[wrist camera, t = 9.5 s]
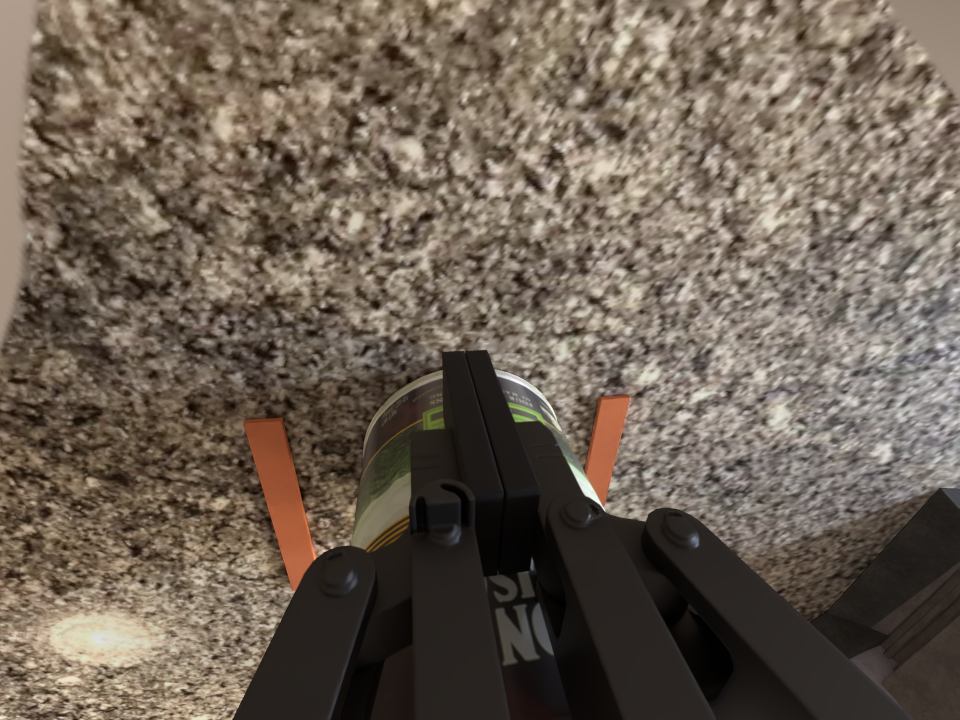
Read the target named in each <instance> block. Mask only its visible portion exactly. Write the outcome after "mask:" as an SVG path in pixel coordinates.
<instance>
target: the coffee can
mask: <svg viewBox="0 0 960 720" xmlns="http://www.w3.org/2000/svg"><path fill="white" fill-rule="evenodd" d="M494 370H495V372H496V375H497V377H498V380H499V382H500V385H501V387H502V390H503V392H504V395H505V397H506V400H507V402H508V405H509V408H510V410H511V413H512V415H513V418H514V420H515V422H524V421H538V420H540V421H541V422H542V423H543V424H544V425H545V426H547V427H548V428H549V429H550V430H551V431H552V432H553V434H554V436H555V438H556V440H557V442H558V445H559V446H560V448H561V450H562V452H563V456H565V458H566V460H567V462H568V464H569V466H570V468H571V470H572V472H573V474H574V476H575V478H576V480H577V482H578V484H579V486H580V487H581V489H582V491H583V493H584V495H585V496H587V497H590V498H591V499H592V500H594V501H595V502H597V503H598V504H599V505H600V506H601V507H602V508H603V506H602V504H601V502H600V500H599V498H598V496H597V495H596V493H595V491H594V489H593V487H592V485H591V483H590V482H589V480H588V478H587V476H586V474H585V472H584V470H583V468H582V466H581V465H580V463H579V461H578V459H577V457H576V456H575V454H574V451H573V449H572V447H571V446H570V444H569V442H568V440H567V439H566V437H565V435H564V433H563V431H562V429H561V427H560V425H559V424H558V422H557V419H556V416H555V413H554V411H553V409H552V407H551V405H550V404H549V402H548V401H547V399H546V398H545V397H544V395H543V394H542V393H541V392H540V391H539V390H538V389H537V388H535V387H534V386H533V385H531V384H530V383H528V382H527V381H525V380H524V379H522V378H520V377H518V376H515V375H513V374H511V373H508V372H505V371H501V370H498V369H494ZM432 429H445V426H444V419H443V370H441V371H437V372H434V373H431V374H428V375H425V376H423V377H420V378H418V379H416V380H414V381H412V382H411V383H409V384H407V385H405V386H404V387H402V388H401V389H399V390H398V391H397V392H395V393H394V394H393V395H392V396H391V397H389V398H388V400H387V401H386V402H385V403H384V404H383V405H382V406H381V407H380V408H379V410H378V411H377V413H376V414H375V416H374V417H373V419H372V421H371V423H370V425H369V427H368V430H367V432H366V436H365V440H364V446H363V464H362V471H361V477H360V484H359V491H358V499H357V505H356V513H355V521H354V528H353V535H352V542H351V546H355V547H359V548H362V549H364V550H365V551H367V552H368V553H370V552H372V551H375V550H377V549H379V548H382V547H384V546H386V545H388V544H390V543H392V542H394V541H395V540H396V539H397V538H398V537H400V536H401V535H402V534H403V532H404V531H405V530H406V528H407V527H408V524H409V522H410V519H409V502H410V498H411V464H410V442H411V441H412V439H413V437H414V435H415V434H416V432H417V431H419V430H432ZM603 510H604V511H605V509H604V508H603ZM605 512H606V511H605ZM536 580H537V572H536V569H535V565H534V562H533V559H531V567H530V571H526V572H519V573H511V574H504V575H499V572H497V575H496V576H489V577H484V581H485V587H486V592H487V597H488V602H489V608H490V613H491V618H492V624H493V629H494V634H495V640H496V645H497V650H498V656H499V661H500V666H501V672H502V677H503V682H504V688H505V693H506V698H507V704H508V709H509V714H510V720H572V717H571V713H570V710H569V706H568V703H567V699H566V696H565V692H564V688H563V685H562V681H561V678H560V674H559V671H558V667H557V664H556V660H555V657H554V653H553V650H552V646H551V643H550V639H549V636H548V632H547V629H546V625H545V622H544V618H543V615H542V611H541V608H540V604H539V602H536V603H535V586H536ZM370 720H415V717H414V670H413V644H412V645H410V646H408V647H406V648H404V649H403V650H401V651H399V652H397V653H395V654H393V655H392V656H390V657H388V658H386V659H385V662H384V666H383V670H382V674H381V678H380V682H379V686H378V690H377V694H376V698H375V702H374V706H373V710H372V714H371V718H370Z"/></svg>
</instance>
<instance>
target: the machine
mask: <svg viewBox="0 0 960 720" xmlns="http://www.w3.org/2000/svg"><path fill="white" fill-rule="evenodd" d="M810 623H811V624H812V625H813V626H814V627H815V628H816V629H817V630H818V631H819V632H820V633H821V634H823V635H824V636H825V637H826V638H827V639H828V640H829V641H830V642H831V643H832V644H833V645H834V646H835V647H837V648H838V649H839V650H840V651H841V652H842V653H843V654H844V655H845V656H846V657H847V658H848V659H850V660H851V661H852V662H853V663H854V664H855V665H856V666H857V667H858V668H859V669H860V670H861V671H862V672H864V673H865V674H866V675H867V676H868V677H869V678H870V679H871V680H872V681H873V682H874V683H875V684H877V685H878V686H879V687H880V688H881V689H882V690H883V691H884V692H885V693H886V694H887V695H888V696H889V697H891V698H892V699H893V700H894V701H895V702H896V703H897V704H898V705H899V706H900V707H901V708H902V709H904V710H905V711H906V712H907V713H908V714H909V715H910V716H911V717H912V718H913V719H914V720H960V489H946V488H940V489H939V491H938V492H937V493H936V494H935V495H934V496H933V497H932V498H931V499H930V500H929V501H928V503H927V504H926V505H925V506H924V507H923V508H922V509H921V510H920V511H919V512H918V513H917V515H916V516H915V517H914V518H913V519H912V520H911V521H910V522H909V523H908V524H907V525H906V527H905V528H904V529H903V530H902V531H901V532H900V533H899V534H898V535H897V536H896V537H895V539H894V540H893V541H892V542H891V543H890V544H889V545H888V546H887V547H886V548H885V549H884V551H883V552H882V553H881V554H880V555H879V556H878V557H877V558H876V559H875V560H874V561H873V563H872V564H871V565H870V566H869V567H868V568H867V569H866V570H865V571H864V572H863V573H862V575H861V576H860V577H859V578H858V579H857V580H856V581H855V582H854V583H853V584H852V585H851V587H850V588H849V589H848V590H847V591H846V592H845V593H844V594H843V595H842V596H841V597H840V599H839V600H838V601H837V602H836V603H835V604H834V605H833V606H832V607H831V608H830V609H829V611H828V612H827V613H825V614H824V615H822V616H820V617H818V618H816V619H815V620H813V621H811V622H810Z"/></svg>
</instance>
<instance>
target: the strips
mask: <svg viewBox="0 0 960 720" xmlns="http://www.w3.org/2000/svg"><path fill="white" fill-rule="evenodd" d="M629 401H630V397H629V396H628V395H619V396H604V397H599V401H598V406H597V411H596V416H595V421H594V426H593V431H592V436H591V441H590V446H589V451H588V456H587V461H586V466H585V471H584V472H585V474H586V476H587V478H588V480H589V482H590V483H591V485H592V487H593V489H594V491H595V493H596V495H597V496H598V498H599V500H600V502H601V504H602V506H603V508H604V505H605V500H606V496H607V492H608V488H609V484H610V480H611V476H612V471H613V467H614V463H615V459H616V455H617V451H618V447H619V442H620V438H621V434H622V430H623V426H624V422H625V418H626V413H627V409H628V405H629ZM244 427H245V431H246V434H247V438H248V441H249V444H250V448H251V451H252V455H253V458H254V462H255V465H256V468H257V472H258V475H259V479H260V482H261V485H262V489H263V492H264V496H265V499H266V502H267V506H268V509H269V513H270V516H271V519H272V523H273V526H274V530H275V533H276V536H277V540H278V543H279V547H280V550H281V554H282V557H283V560H284V564H285V567H286V571H287V574H288V577H289V581H290V584H291V588H292V591H295V590H296V589H297V587H298V585H299V583H300V581H301V579H302V577H303V575H304V573H305V572H306V570H307V569H308V567H309V566H310V565H311V563H312V562H313V561H314V560H315V559H316V556H315V552H314V548H313V544H312V540H311V535H310V531H309V527H308V523H307V518H306V514H305V510H304V506H303V501H302V497H301V493H300V489H299V484H298V480H297V476H296V472H295V468H294V463H293V459H292V455H291V451H290V446H289V442H288V438H287V434H286V429H285V425H284V421H283V418H268V419H253V420H245V422H244Z"/></svg>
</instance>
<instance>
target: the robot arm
mask: <svg viewBox="0 0 960 720" xmlns="http://www.w3.org/2000/svg"><path fill="white" fill-rule="evenodd" d="M442 369H443V419H444V426H445V429H432V430H419V431H417V432H416V434H415V435H414V437H413V439H412V441H411V442H410V464H411V498H410V502H409V519H410V522H409V524H408V527H407V528H406V530H405V531H404V532H403V534H402V535H401V536H400V537H398V538H397V539H396V540H395V541H394V542H392V543H390V544H388V545H386V546H384V547H382V548H379V549H377V550H375V551H372V552H370V553H368V552H367V551H365V550H364V549H362V548H359V547H355V546H340V547H336V548H334V549H331V550H329V551H326V552H324V553H323V554H322V555H320V556H319V557H318V558H316V559H315V560H314V561H313V562H312V563H311V565H310V566H309V567H308V569H307V570H306V572H305V573H304V575H303V577H302V579H301V581H300V583H299V585H298V587H297V589H296V591H295V593H294V595H293V597H292V599H291V601H290V603H289V605H288V607H287V609H286V612H285V614H284V616H283V618H282V620H281V622H280V624H279V626H278V628H277V630H276V632H275V634H274V636H273V638H272V640H271V642H270V644H269V646H268V648H267V650H266V652H265V654H264V656H263V658H262V660H261V662H260V665H259V667H258V669H257V671H256V673H255V675H254V677H253V679H252V681H251V683H250V685H249V687H248V689H247V691H246V693H245V695H244V697H243V699H242V701H241V703H240V705H239V707H238V709H237V711H236V713H235V715H234V718H233V720H370V718H371V714H372V710H373V706H374V702H375V698H376V694H377V690H378V686H379V682H380V678H381V674H382V670H383V666H384V662H385V659H386V658H388V657H390V656H392V655H393V654H395V653H397V652H399V651H401V650H403V649H404V648H406V647H408V646H410V645H412V644H413V670H414V717H415V720H510V714H509V709H508V704H507V698H506V693H505V688H504V682H503V677H502V672H501V666H500V661H499V656H498V650H497V645H496V640H495V634H494V629H493V624H492V618H491V613H490V608H489V602H488V597H487V592H486V587H485V581H484V577H489V576H496V575H497V572H499V575H504V574H511V573H519V572H526V571H530V567H531V559H533V562H534V565H535V569H536V572H537V580H536V586H535V603H536V602H539V604H540V608H541V611H542V615H543V618H544V622H545V625H546V629H547V632H548V636H549V639H550V643H551V646H552V650H553V653H554V657H555V660H556V664H557V667H558V671H559V674H560V678H561V681H562V685H563V688H564V692H565V696H566V699H567V703H568V706H569V710H570V713H571V717H572V720H914V719H913V718H912V717H911V716H910V715H909V714H908V713H907V712H906V711H905V710H904V709H902V708H901V707H900V706H899V705H898V704H897V703H896V702H895V701H894V700H893V699H892V698H891V697H889V696H888V695H887V694H886V693H885V692H884V691H883V690H882V689H881V688H880V687H879V686H878V685H877V684H875V683H874V682H873V681H872V680H871V679H870V678H869V677H868V676H867V675H866V674H865V673H864V672H862V671H861V670H860V669H859V668H858V667H857V666H856V665H855V664H854V663H853V662H852V661H851V660H850V659H848V658H847V657H846V656H845V655H844V654H843V653H842V652H841V651H840V650H839V649H838V648H837V647H835V646H834V645H833V644H832V643H831V642H830V641H829V640H828V639H827V638H826V637H825V636H824V635H823V634H821V633H820V632H819V631H818V630H817V629H816V628H815V627H814V626H813V625H812V624H811V623H810V622H808V621H807V620H806V619H805V618H804V617H803V616H802V615H801V614H800V613H799V612H798V611H797V610H796V609H794V608H793V607H792V606H791V605H790V604H789V603H788V602H787V601H786V600H785V599H784V598H783V597H781V596H780V595H779V594H778V593H777V592H776V591H775V590H774V589H773V588H772V587H771V586H770V585H768V584H767V583H766V582H765V581H764V580H763V579H762V578H761V577H760V576H759V575H758V574H757V573H756V572H754V571H753V570H752V569H751V568H750V567H749V566H748V565H747V564H746V563H745V562H744V561H743V560H741V559H740V558H739V557H738V556H737V555H736V554H735V553H734V552H733V551H732V550H731V549H730V548H729V547H727V546H726V545H725V544H724V543H723V542H722V541H721V540H720V539H719V538H718V537H717V536H716V535H714V534H713V533H712V532H711V531H710V530H709V529H708V528H707V527H706V526H705V525H704V524H703V523H701V522H700V521H699V520H697V519H696V518H694V517H693V516H692V515H690V514H688V513H685V512H683V511H681V510H678V509H672V508H660V509H656V510H654V511H653V512H651V513H650V514H649V515H648V518H647V520H646V522H644V521H638V520H632V519H626V518H620V517H616V516H612V515H610V514H607V513H606V512H605V511H604V510H603V508H602V507H601V506H600V505H599V504H598V503H597V502H595V501H594V500H592V499H591V498H590V497H587V496H585V495H584V493H583V491H582V489H581V487H580V486H579V484H578V482H577V480H576V478H575V476H574V474H573V472H572V470H571V468H570V466H569V464H568V462H567V460H566V458H565V456H563V452H562V450H561V448H560V446H559V445H558V442H557V440H556V438H555V436H554V434H553V432H552V431H551V430H550V429H549V428H548V427H547V426H545V425H544V424H543V423H542V422H541V421H540V420H538V421H524V422H515V420H514V418H513V415H512V413H511V410H510V408H509V405H508V402H507V400H506V397H505V395H504V392H503V390H502V387H501V385H500V382H499V380H498V377H497V375H496V372H495V370H494V367H493V364H492V362H491V359H490V357H489V354H488V352H487V350H477V351H465V353H464V351H455V352H442Z"/></svg>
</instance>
